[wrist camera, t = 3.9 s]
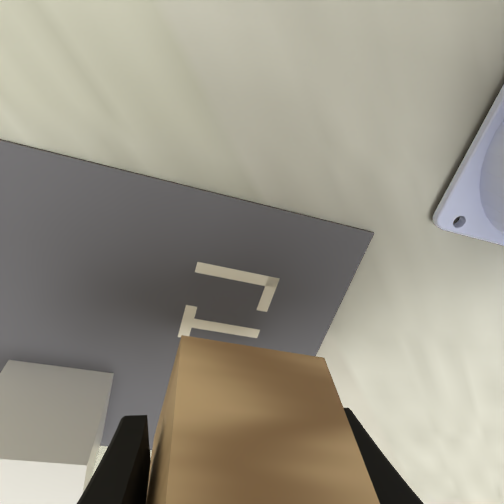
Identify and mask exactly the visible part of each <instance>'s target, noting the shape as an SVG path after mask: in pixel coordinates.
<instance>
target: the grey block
mask: <svg viewBox="0 0 504 504" xmlns="http://www.w3.org/2000/svg"><path fill="white" fill-rule="evenodd" d="M113 375H114V373H107V372H99V371H92V370H84V369H76V368H68V367H61V366H53V365H45V364H38V363H30V362H22V361H14V360H8V362H7V363H6V365H5V366H4V368H3V370H2V371H1V373H0V504H77V502H78V501H79V499H80V497H81V496H82V494H83V492H84V490H85V489H86V487H87V485H88V483H89V482H90V480H91V476H92V473H93V469H94V465H95V462H96V458H97V454H98V451H99V447H100V443H101V440H102V436H103V430H104V425H105V419H106V414H107V408H108V403H109V397H110V392H111V386H112V381H113Z"/></svg>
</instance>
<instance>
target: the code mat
mask: <svg viewBox="0 0 504 504" xmlns="http://www.w3.org/2000/svg"><path fill="white" fill-rule="evenodd" d="M373 235H374V233H373V232H370V231H366V230H362V229H358V228H354V227H350V226H346V225H342V224H338V223H334V222H330V221H326V220H322V219H318V218H314V217H310V216H306V215H302V214H298V213H294V212H290V211H286V210H282V209H278V208H274V207H270V206H266V205H261V204H257V203H253V202H249V201H245V200H241V199H237V198H233V197H229V196H225V195H221V194H217V193H213V192H209V191H205V190H201V189H197V188H193V187H189V186H185V185H181V184H177V183H173V182H169V181H165V180H161V179H157V178H153V177H149V176H145V175H141V174H137V173H133V172H129V171H125V170H121V169H117V168H113V167H109V166H105V165H101V164H97V163H93V162H89V161H85V160H80V159H76V158H72V157H68V156H64V155H60V154H56V153H52V152H48V151H44V150H40V149H36V148H32V147H28V146H24V145H20V144H16V143H12V142H8V141H4V140H0V373H1V371H2V370H3V368H4V366H5V365H6V363H7V362H8V360H14V361H22V362H30V363H38V364H45V365H53V366H61V367H68V368H76V369H84V370H92V371H99V372H107V373H114V375H113V381H112V386H111V392H110V397H109V403H108V408H107V414H106V419H105V425H104V430H103V436H102V440H101V443H100V446H109V444H110V442H111V440H112V438H113V436H114V434H115V432H116V429H117V427H118V425H119V422H120V420H121V418H123V417H124V416H129V415H147V419H148V433H149V446H150V450H152V448H153V441H154V436H155V432H156V428H157V424H158V421H159V417H160V413H161V410H162V406H163V402H164V398H165V395H166V391H167V387H168V384H169V380H170V376H171V372H172V369H173V365H174V361H175V358H176V354H177V350H178V347H179V343H180V339H181V335H184V336H191V337H197V338H203V339H209V340H216V341H222V342H228V343H234V344H241V345H247V346H253V347H259V348H266V349H272V350H278V351H284V352H291V353H297V354H303V355H309V356H316V354H317V352H318V350H319V348H320V346H321V344H322V341H323V339H324V337H325V335H326V333H327V331H328V329H329V327H330V325H331V323H332V321H333V318H334V316H335V314H336V312H337V310H338V308H339V306H340V304H341V302H342V300H343V297H344V295H345V293H346V291H347V289H348V287H349V285H350V283H351V281H352V279H353V277H354V274H355V272H356V270H357V268H358V266H359V264H360V262H361V260H362V258H363V256H364V254H365V251H366V249H367V247H368V245H369V243H370V241H371V239H372V237H373Z"/></svg>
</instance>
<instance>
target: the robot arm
mask: <svg viewBox="0 0 504 504" xmlns="http://www.w3.org/2000/svg"><path fill="white" fill-rule="evenodd" d="M459 216H460V218H459V220H458V222H456V223H454V224H453V222H454V220H455V219H456V218H457V217H459ZM433 223H434V224H435V225H436V226H437V227H438V228H440V229H442V230H446V231H449V232H453V233H457V234H461V235H465V236H468V237H472V238H476V239H480V240H484V241H487V242H491V243H495V244H499V245H503V246H504V85H503V86H502V88H501V90H500V92H499V94H498V96H497V98H496V99H495V101H494V103H493V105H492V107H491V109H490V111H489V112H488V114H487V116H486V118H485V120H484V122H483V124H482V125H481V127H480V129H479V131H478V133H477V135H476V136H475V138H474V140H473V142H472V144H471V146H470V148H469V149H468V151H467V153H466V155H465V157H464V159H463V161H462V162H461V164H460V166H459V168H458V170H457V172H456V174H455V175H454V177H453V179H452V181H451V183H450V185H449V186H448V188H447V190H446V192H445V194H444V196H443V198H442V199H441V201H440V203H439V205H438V207H437V209H436V211H435V212H434V215H433ZM344 411H345V414H346V416H347V419H348V422H349V424H350V427H351V429H352V432H353V435H354V437H355V440H356V442H357V445H358V448H359V450H360V453H361V455H362V458H363V461H364V463H365V466H366V469H367V471H368V474H369V476H370V479H371V482H372V484H373V487H374V489H375V492H376V495H377V497H378V500H379V503H380V504H424V503H423V502H422V501H421V500H420V499H419V498H418V497H417V495H416V494H415V493H414V492H413V491H412V489H411V488H410V487H409V486H408V485H407V483H406V482H405V481H404V480H403V478H402V477H401V476H400V475H399V473H398V472H397V471H396V470H395V468H394V467H393V466H392V465H391V463H390V462H389V461H388V460H387V458H386V457H385V456H384V454H383V453H382V452H381V450H380V449H379V448H378V446H377V445H376V444H375V442H374V441H373V440H372V438H371V437H370V436H369V434H368V433H367V432H366V430H365V429H364V428H363V426H362V425H361V423H360V422H359V421H358V419H357V418H356V416H355V415H354V414H353V412H352V411H351V410H350V409H349V408H344ZM150 462H151V460H150V446H149V433H148V419H147V415H129V416H124V417H123V418H121V420H120V422H119V425H118V427H117V429H116V432H115V434H114V436H113V438H112V440H111V442H110V444H109V446H108V448H107V450H106V452H105V454H104V456H103V458H102V460H101V462H100V464H99V466H98V467H97V469H96V471H95V473H94V475H93V476H92V478H91V480H90V482H89V483H88V485H87V487H86V489H85V490H84V492H83V494H82V496H81V497H80V499H79V501H78V502H77V504H146V499H147V490H148V481H149V471H150Z"/></svg>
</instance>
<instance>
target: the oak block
mask: <svg viewBox="0 0 504 504" xmlns="http://www.w3.org/2000/svg"><path fill="white" fill-rule="evenodd" d="M146 504H380V503H379V500H378V497H377V495H376V492H375V489H374V487H373V484H372V482H371V479H370V476H369V474H368V471H367V469H366V466H365V463H364V461H363V458H362V455H361V453H360V450H359V448H358V445H357V442H356V440H355V437H354V435H353V432H352V429H351V427H350V424H349V422H348V419H347V416H346V414H345V411H344V408H343V406H342V403H341V401H340V398H339V395H338V393H337V390H336V388H335V385H334V382H333V380H332V377H331V374H330V372H329V369H328V367H327V364H326V361H325V359H324V358H322V357H316V356H309V355H303V354H297V353H291V352H284V351H278V350H272V349H266V348H259V347H253V346H247V345H241V344H234V343H228V342H222V341H216V340H209V339H203V338H197V337H191V336H184V335H181V339H180V343H179V347H178V350H177V354H176V358H175V361H174V365H173V369H172V372H171V376H170V380H169V384H168V387H167V391H166V395H165V398H164V402H163V406H162V410H161V413H160V417H159V421H158V424H157V428H156V432H155V436H154V441H153V448H152V455H151V462H150V471H149V481H148V490H147V499H146Z"/></svg>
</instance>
